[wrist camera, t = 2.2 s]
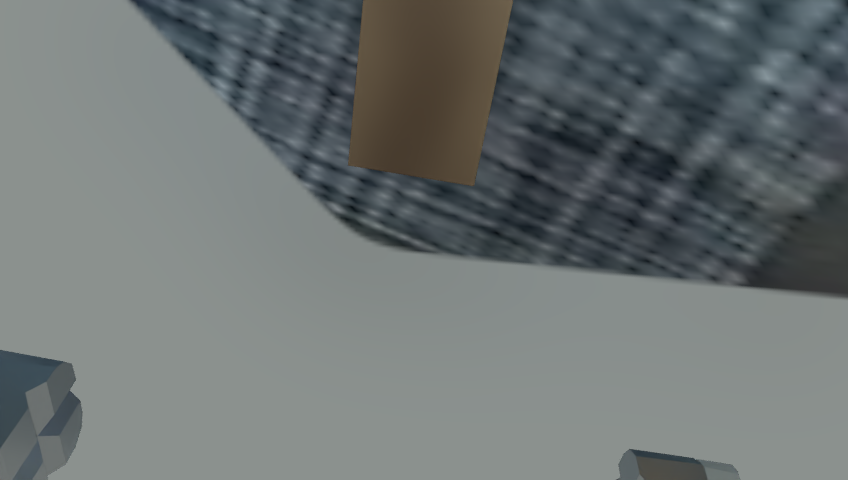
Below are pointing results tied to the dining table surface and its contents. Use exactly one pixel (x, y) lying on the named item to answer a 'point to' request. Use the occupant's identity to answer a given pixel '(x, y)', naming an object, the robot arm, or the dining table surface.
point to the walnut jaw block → (426, 85)
